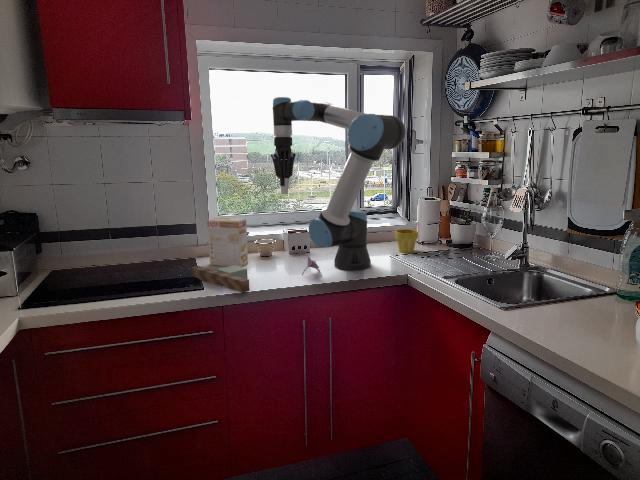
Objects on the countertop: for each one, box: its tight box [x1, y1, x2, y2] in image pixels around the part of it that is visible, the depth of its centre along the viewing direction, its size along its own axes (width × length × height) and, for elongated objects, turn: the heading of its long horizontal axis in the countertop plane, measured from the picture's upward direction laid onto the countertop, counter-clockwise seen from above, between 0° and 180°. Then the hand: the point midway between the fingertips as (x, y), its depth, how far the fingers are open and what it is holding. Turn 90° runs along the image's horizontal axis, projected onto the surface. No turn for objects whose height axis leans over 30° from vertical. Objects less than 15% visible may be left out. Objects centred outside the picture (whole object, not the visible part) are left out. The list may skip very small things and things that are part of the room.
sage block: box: [216, 265, 249, 279], centre depth 169 cm, size 8×8×4 cm
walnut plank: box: [190, 265, 251, 293], centre depth 164 cm, size 30×3×4 cm, turn 50°
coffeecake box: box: [206, 217, 249, 267], centre depth 189 cm, size 15×7×20 cm, turn 69°
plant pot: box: [394, 228, 419, 254], centre depth 210 cm, size 10×10×10 cm
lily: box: [301, 250, 323, 276], centre depth 174 cm, size 12×12×10 cm
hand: (284, 193), depth 190 cm, fingers closed
